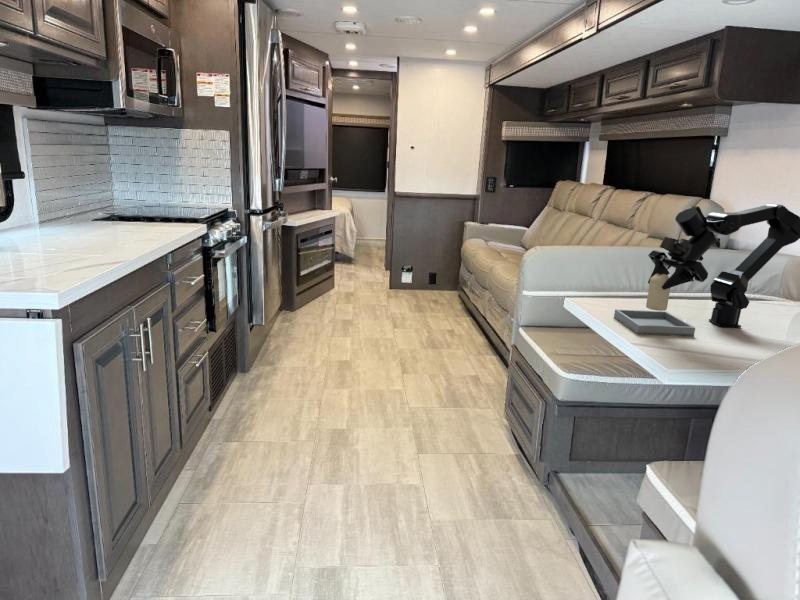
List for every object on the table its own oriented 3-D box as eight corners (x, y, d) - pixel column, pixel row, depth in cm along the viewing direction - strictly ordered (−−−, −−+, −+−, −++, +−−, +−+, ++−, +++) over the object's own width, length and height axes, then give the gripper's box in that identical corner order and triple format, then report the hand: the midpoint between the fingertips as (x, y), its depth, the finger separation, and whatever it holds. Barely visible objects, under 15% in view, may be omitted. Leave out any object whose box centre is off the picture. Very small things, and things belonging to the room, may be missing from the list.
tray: (664, 319, 169) (666, 311, 168) (693, 336, 153) (695, 327, 153) (613, 317, 168) (615, 309, 167) (637, 334, 153) (639, 325, 152)
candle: (642, 307, 160) (647, 273, 157) (651, 304, 163) (657, 271, 160) (660, 312, 155) (666, 277, 153) (670, 309, 159) (676, 275, 156)
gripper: (659, 223, 163) (621, 260, 163) (707, 232, 145) (664, 274, 145) (677, 249, 167) (640, 285, 167) (726, 261, 149) (684, 302, 149)
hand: (655, 286), depth 157 cm, fingers closed on candle, 5 cm apart
